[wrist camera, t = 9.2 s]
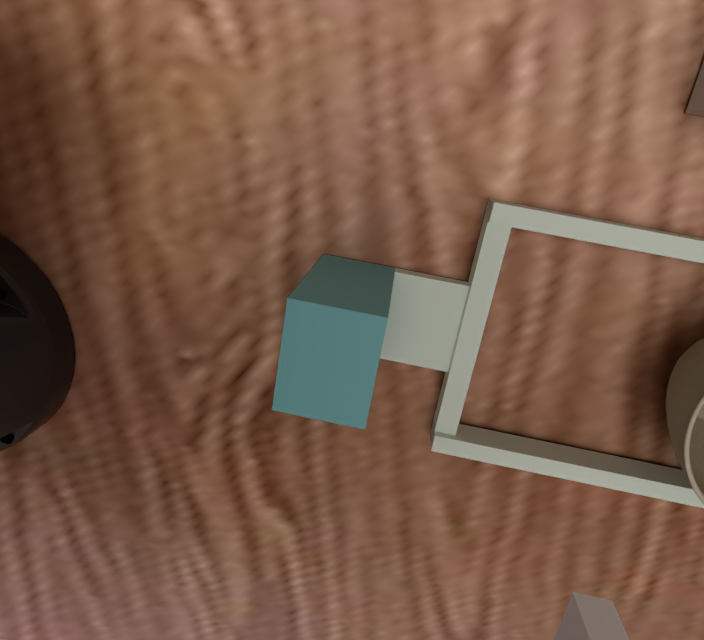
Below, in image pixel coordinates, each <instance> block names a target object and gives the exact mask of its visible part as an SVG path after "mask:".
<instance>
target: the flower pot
mask: <svg viewBox="0 0 704 640" xmlns="http://www.w3.org/2000/svg"><path fill="white" fill-rule="evenodd" d="M666 416H667V424H668V429H669V434H670V438H671V442H672V445H673V448H674V451H675V454H676V456H677V459H678V461H679V463H680V466H681V468H682V470H683V472H684V474H685V476H686V478H687V480H688V482H689V483H690V485H691V487H692V489H693V490H694V492H695V493H696V495H697V496H698V498H699V499H700V501H701V502H702V503H703V504H704V338H703V339H701V340H699V341H697V342H696V343H694V344H693V345H692V346H691V347H689V348H688V349H687V350H686V351H685V352H684V353H683V354H682V355H681V357H680V358H679V360H678V361H677V363H676V364H675V366H674V368H673V371H672V373H671V375H670V379H669V383H668V387H667V394H666Z"/></svg>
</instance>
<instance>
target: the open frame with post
mask: <svg viewBox="0 0 704 640" xmlns="http://www.w3.org/2000/svg"><path fill="white" fill-rule="evenodd" d="M686 113H687V114H692V115H698V116H704V61H703V64H702V67H701V70H700V73H699V76H698V78H697V81H696V84H695V87H694V90H693V93H692V95H691V98H690V101H689V104H688V107H687V110H686Z"/></svg>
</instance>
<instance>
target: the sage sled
mask: <svg viewBox="0 0 704 640" xmlns="http://www.w3.org/2000/svg"><path fill="white" fill-rule="evenodd" d="M511 227H513V228H518V229H524V230H529V231H534V232H540V233H545V234H550V235H555V236H561V237H566V238H571V239H577V240H582V241H587V242H593V243H598V244H603V245H609V246H614V247H619V248H625V249H630V250H635V251H641V252H646V253H651V254H657V255H662V256H667V257H673V258H678V259H683V260H689V261H694V262H699V263H704V238H699V237H693V236H688V235H683V234H677V233H672V232H666V231H661V230H656V229H650V228H645V227H639V226H634V225H629V224H623V223H618V222H612V221H607V220H602V219H596V218H591V217H586V216H580V215H575V214H569V213H564V212H559V211H553V210H548V209H542V208H537V207H532V206H526V205H521V204H515V203H510V202H505V201H499V200H494V199H489V200H488V204H487V208H486V212H485V216H484V220H483V224H482V228H481V232H480V236H479V239H478V243H477V247H476V251H475V255H474V259H473V263H472V267H471V271H470V275H469V279H468V282H466V281H461V280H456V279H450V278H445V277H440V276H435V275H430V274H425V273H419V272H414V271H409V270H404V269H399V268H394V267H388V266H383V265H378V264H373V263H368V262H363V261H357V260H352V259H347V258H342V257H337V256H332V255H326V254H323V256H322V257H321V258H320V259H319V260H318V262H317V263H316V264H315V265H314V266H313V268H312V269H311V270H310V271H309V273H308V274H307V275H306V276H305V277H304V279H303V280H302V281H301V282H300V283H299V285H298V286H297V287H296V288H295V289H294V291H293V292H292V293H291V294H290V295H289V297H288V298H287V305H286V312H285V319H284V326H283V334H282V341H281V348H280V355H279V363H278V370H277V377H276V384H275V392H274V399H273V406H272V410H274V411H278V412H283V413H288V414H293V415H297V416H302V417H307V418H312V419H317V420H321V421H326V422H331V423H336V424H340V425H345V426H350V427H355V428H360V429H364V430H365V428H366V423H367V418H368V413H369V408H370V403H371V399H372V394H373V389H374V384H375V379H376V374H377V369H378V364H379V360H380V358H381V359H385V360H390V361H395V362H400V363H405V364H410V365H415V366H420V367H425V368H430V369H435V370H440V371H445V375H444V379H443V383H442V387H441V391H440V395H439V399H438V403H437V407H436V411H435V415H434V419H433V423H432V427H431V431H430V442H431V451H434V452H438V453H443V454H448V455H453V456H457V457H462V458H467V459H472V460H477V461H481V462H486V463H491V464H496V465H500V466H505V467H510V468H515V469H519V470H524V471H529V472H534V473H539V474H543V475H548V476H553V477H558V478H562V479H567V480H572V481H577V482H581V483H586V484H591V485H596V486H601V487H605V488H610V489H615V490H620V491H624V492H629V493H634V494H639V495H643V496H648V497H653V498H658V499H662V500H667V501H672V502H677V503H682V504H686V505H691V506H696V507H701V508H704V504H703V503H702V502H701V501H700V499H699V498H698V496H697V495H696V493H695V492H694V490H693V489H692V487H691V485H690V483H689V482H688V480H687V478H686V476H685V474H684V472H683V470H681V469H676V468H671V467H666V466H661V465H656V464H652V463H647V462H642V461H637V460H632V459H627V458H623V457H618V456H613V455H608V454H603V453H598V452H594V451H589V450H584V449H579V448H574V447H569V446H565V445H560V444H555V443H550V442H545V441H540V440H535V439H531V438H526V437H521V436H516V435H511V434H506V433H502V432H497V431H492V430H487V429H482V428H477V427H473V426H468V425H463V424H459V421H460V417H461V413H462V410H463V406H464V402H465V398H466V395H467V391H468V387H469V384H470V380H471V376H472V372H473V369H474V365H475V361H476V358H477V354H478V350H479V346H480V343H481V339H482V335H483V331H484V328H485V324H486V320H487V317H488V313H489V309H490V305H491V302H492V298H493V294H494V291H495V287H496V283H497V279H498V276H499V272H500V268H501V265H502V261H503V257H504V253H505V250H506V246H507V242H508V239H509V235H510V231H511Z"/></svg>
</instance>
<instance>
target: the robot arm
mask: <svg viewBox="0 0 704 640" xmlns="http://www.w3.org/2000/svg"><path fill="white" fill-rule="evenodd" d="M73 369H74V347H73V339H72V334H71V330H70V326H69V322H68V319H67V316H66V314H65V311H64V309H63V306H62V304H61V302H60V300H59V298H58V296H57V295H56V293H55V291H54V289H53V288H52V286H51V285H50V283H49V282H48V280H47V279H46V278H45V276H44V275H43V274H42V272H41V271H40V270H39V269H38V268H37V266H36V265H35V264H34V263H33V262H32V261H31V260H30V259H29V258H28V257H27V256H26V255H25V254H24V253H23V252H22V251H21V250H20V249H18V248H17V247H16V246H15V245H13V244H12V243H11V242H9V241H8V240H7V239H5V238H4V237H2V236H1V235H0V451H2V450H5V449H7V448H9V447H11V446H13V445H15V444H16V443H18V442H20V441H21V440H23V439H24V438H26V437H27V436H28V435H30V434H31V433H32V432H34V431H35V430H36V429H38V428H39V427H40V426H42V425H43V424H44V423H46V422H47V421H48V420H49V419H50V418H51V417H52V416H53V415H54V414H55V413H56V411H57V410H58V409H59V408H60V406H61V404H62V403H63V401H64V399H65V397H66V395H67V393H68V390H69V388H70V384H71V381H72V376H73ZM554 640H629V638H628V636H627V634H626V631H625V629H624V627H623V625H622V622H621V620H620V618H619V615H618V613H617V611H616V609H615V606H614V604H613V602H612V600H607V599H603V598H598V597H593V596H589V595H584V594H580V593H575V592H573V593H572V596H571V598H570V601H569V603H568V606H567V608H566V611H565V613H564V616H563V618H562V621H561V623H560V626H559V628H558V631H557V634H556V636H555V639H554Z"/></svg>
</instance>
